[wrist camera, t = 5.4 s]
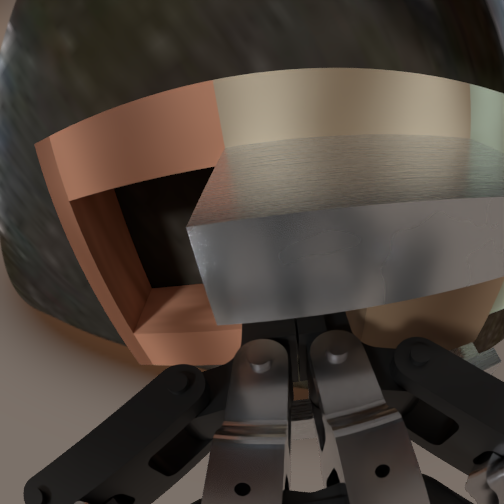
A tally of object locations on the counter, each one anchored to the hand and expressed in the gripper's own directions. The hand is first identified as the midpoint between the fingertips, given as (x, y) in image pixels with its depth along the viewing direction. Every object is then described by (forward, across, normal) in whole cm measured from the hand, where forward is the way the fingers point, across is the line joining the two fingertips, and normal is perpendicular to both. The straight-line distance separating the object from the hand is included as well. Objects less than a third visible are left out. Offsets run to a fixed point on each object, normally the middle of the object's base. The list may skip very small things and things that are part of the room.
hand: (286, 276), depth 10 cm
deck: (+5, -4, 0) cm, 7 cm away
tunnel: (+1, -3, 0) cm, 4 cm away
